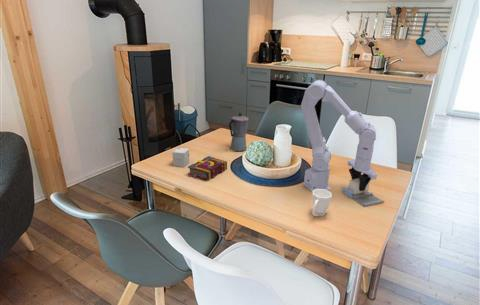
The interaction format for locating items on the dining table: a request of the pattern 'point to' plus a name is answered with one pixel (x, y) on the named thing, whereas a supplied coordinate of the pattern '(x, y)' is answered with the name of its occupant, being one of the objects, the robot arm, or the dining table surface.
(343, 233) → the dining table surface
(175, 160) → the skincare box
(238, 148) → the moka pot
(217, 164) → the decorative book
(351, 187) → the block
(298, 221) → the dining table surface
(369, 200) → the grey ribbed plate
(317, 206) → the cup
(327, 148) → the eye dropper bottle
